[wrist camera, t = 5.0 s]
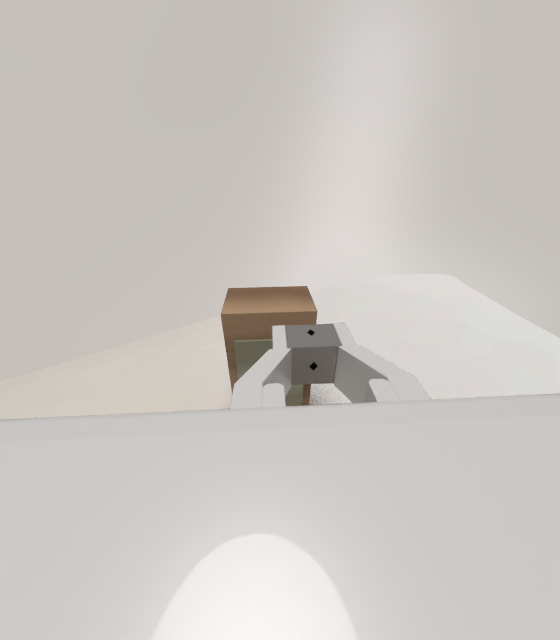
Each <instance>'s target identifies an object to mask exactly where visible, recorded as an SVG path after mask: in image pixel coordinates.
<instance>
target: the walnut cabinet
mask: <svg viewBox="0 0 560 640" xmlns="http://www.w3.org/2000/svg"><path fill="white" fill-rule="evenodd" d="M221 319H222V326H223V333H224V339H225V346H226V353H227V360H228V367H229V374H230V381H231V388H232V394H233V388H234V384H235V383H236V382H237V381H238V380H239V379H240V378H241V377H242V376H243V375H244V374H245V373H246V372H247V371H248V370H249V369H250V368H251V367H252V366H253V365H254V364H255V363H256V362H257V361H258V360H259V359H260V358H261V357H262V356H263V355H264V354H265V353H266V352H267V351H268V350H269V349H273V338H272V326H276V325H284V326H285V325H316V319H317V309H316V307H315V305H314V302H313V300H312V297H311V295H310V292H309V290H308V288H307V286H297V287H259V288H229V289H228V291H227V295H226V298H225V302H224V305H223V309H222V312H221ZM310 387H311V384H302V385H291V388H290V390H289V391H288V393H287V395H286V396H285V404H286V406H305V405H309V398H310Z"/></svg>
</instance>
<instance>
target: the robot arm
mask: <svg viewBox="0 0 560 640" xmlns="http://www.w3.org/2000/svg"><path fill="white" fill-rule="evenodd" d="M272 338H273V349H269V350H268V351H267V352H266V353H265V354H264V355H263V356H262V357H261V358H260V359H259V360H258V361H257V362H256V363H255V364H254V365H253V366H252V367H251V368H250V369H249V370H248V371H247V372H246V373H245V374H244V375H243V376H242V377H241V378H240V379H239V380H238V381H237V382H236V383H235V384H234V388H233V394H232V400H231V406H230V409H218V410H197V411H175V412H153V413H132V414H110V415H89V416H67V417H46V418H24V419H2V420H0V640H560V394H538V395H517V396H496V397H476V398H454V399H431V398H430V397H429V395H428V394H427V392H426V391H425V390H424V388H423V387H422V385H421V384H420V383H419V381H418V380H417V378H416V377H415V376H413V375H412V374H410V373H408V372H406V371H405V370H403V369H401V368H399V367H398V366H396V365H394V364H392V363H390V362H389V361H387V360H385V359H383V358H382V357H380V356H378V355H376V354H375V353H373V352H371V351H369V350H368V349H366V348H364V347H362V346H361V345H359V346H357V345H356V343H355V341H354V339H353V337H352V335H351V333H350V332H349V330H348V328H347V326H346V324H345V323H333V324H318V325H285V326H284V325H276V326H272ZM326 383H334V385H335V386H336V387H337V388H338V389H339V390H340V391H341V392H342V393H343V394H344V395H345V396H346V397H347V398H348V399H349V400H350V401H351V402H352V403H347V404H326V405H305V406H286V404H285V396H286V395H287V393H288V391H289V390H290V388H291V385H302V384H326Z"/></svg>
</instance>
